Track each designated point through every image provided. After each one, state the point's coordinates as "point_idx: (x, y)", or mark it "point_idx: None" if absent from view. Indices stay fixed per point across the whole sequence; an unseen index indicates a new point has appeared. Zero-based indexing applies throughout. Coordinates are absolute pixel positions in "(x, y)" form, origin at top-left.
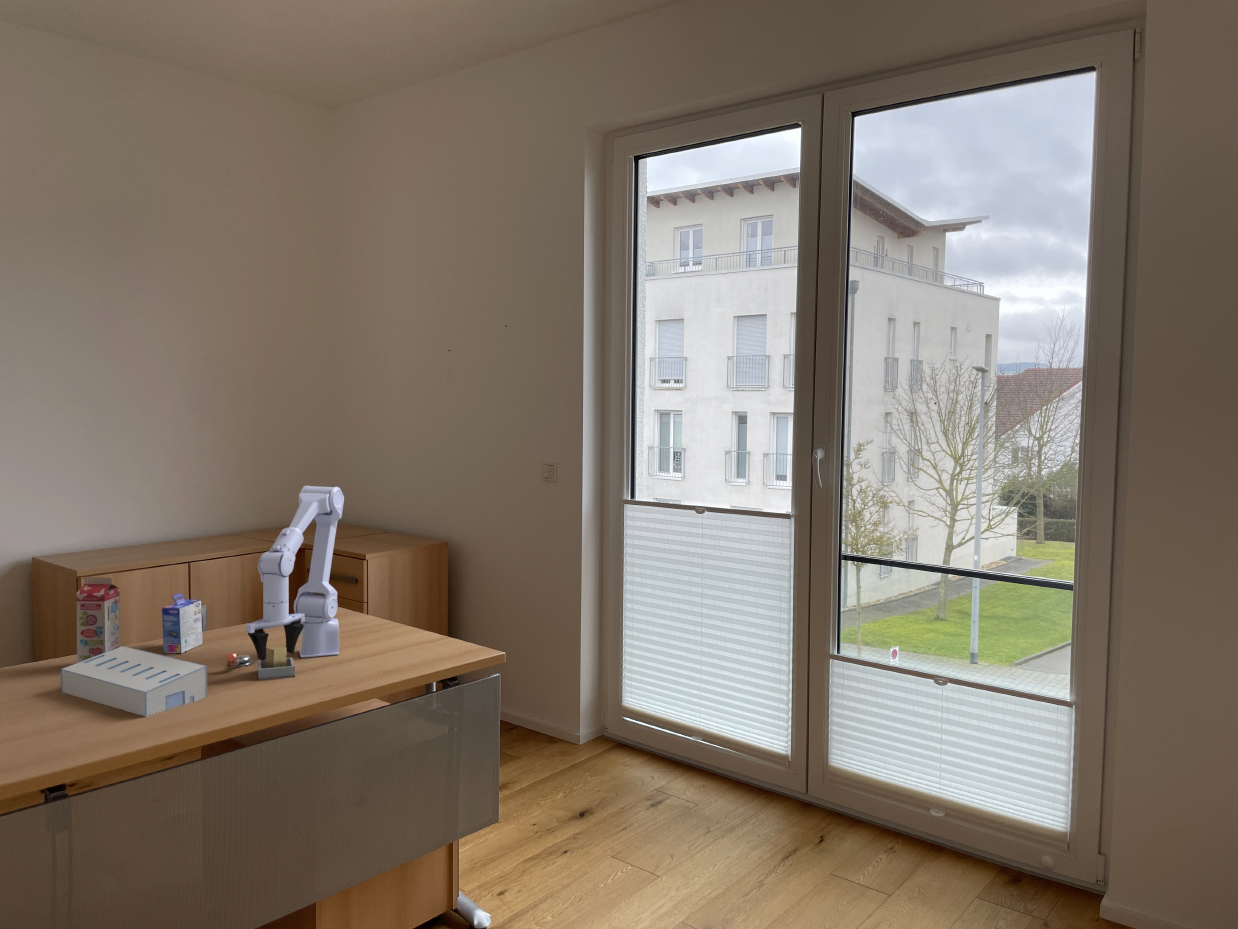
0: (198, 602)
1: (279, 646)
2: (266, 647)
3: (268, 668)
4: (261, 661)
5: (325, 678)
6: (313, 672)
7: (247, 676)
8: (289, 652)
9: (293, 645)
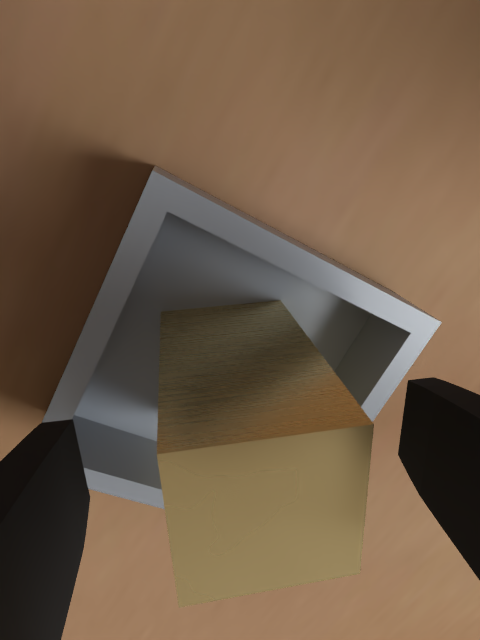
0: None
1: (323, 514)
2: (168, 460)
3: (110, 480)
4: (178, 215)
5: (359, 587)
6: (396, 472)
7: (9, 258)
8: (405, 429)
9: (462, 539)
